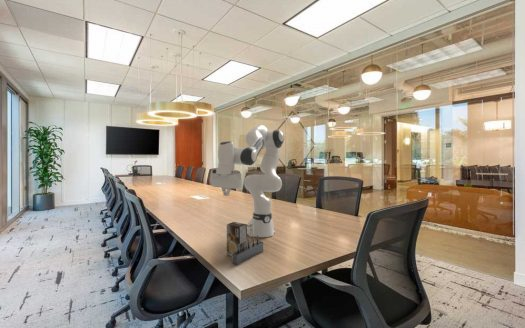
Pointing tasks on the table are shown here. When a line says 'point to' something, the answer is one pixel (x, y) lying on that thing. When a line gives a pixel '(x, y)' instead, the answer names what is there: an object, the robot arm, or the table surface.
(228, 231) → the coffee box
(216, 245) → the table surface
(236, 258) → the peg rack
